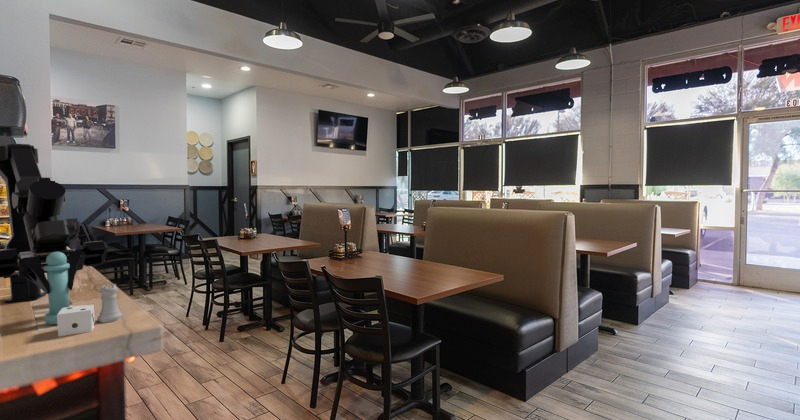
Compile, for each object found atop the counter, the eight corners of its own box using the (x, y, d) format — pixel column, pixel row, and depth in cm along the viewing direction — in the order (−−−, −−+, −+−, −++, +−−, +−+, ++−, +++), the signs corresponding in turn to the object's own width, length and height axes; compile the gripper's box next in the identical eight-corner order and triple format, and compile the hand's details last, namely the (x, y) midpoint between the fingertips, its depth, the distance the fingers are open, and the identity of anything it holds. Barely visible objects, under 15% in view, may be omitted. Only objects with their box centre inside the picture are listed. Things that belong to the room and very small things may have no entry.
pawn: (51, 318, 85) (47, 250, 85) (78, 315, 87) (74, 249, 86) (40, 325, 81) (36, 254, 80) (69, 322, 83) (65, 252, 82)
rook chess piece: (110, 327, 83) (107, 288, 83) (91, 326, 84) (89, 287, 84) (128, 320, 87) (126, 283, 87) (111, 319, 88) (108, 282, 88)
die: (64, 333, 81) (62, 307, 80) (95, 328, 83) (94, 303, 83) (58, 341, 76) (56, 314, 76) (92, 336, 79) (90, 309, 78)
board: (32, 309, 97) (32, 305, 97) (70, 303, 102) (70, 299, 102) (38, 334, 80) (38, 330, 79) (84, 325, 84) (84, 322, 84)
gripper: (-16, 208, 78) (-3, 274, 72) (102, 204, 92) (121, 258, 86) (-17, 246, 84) (-6, 310, 77) (94, 237, 98) (112, 290, 91)
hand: (59, 290), depth 83 cm, fingers closed on pawn, 3 cm apart
